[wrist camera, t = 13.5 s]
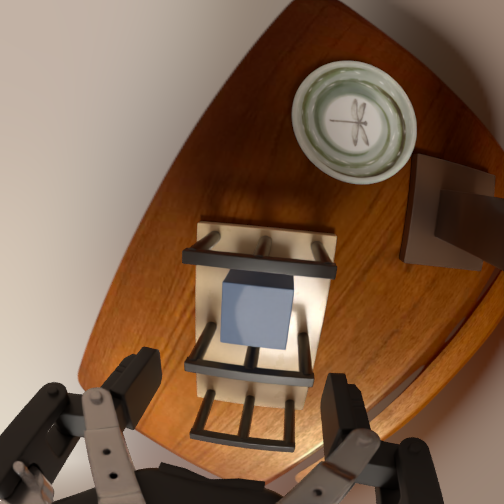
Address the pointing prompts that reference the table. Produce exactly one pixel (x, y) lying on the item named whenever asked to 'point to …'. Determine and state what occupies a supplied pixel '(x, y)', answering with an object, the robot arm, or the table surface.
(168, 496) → the robot arm
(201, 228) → the rack
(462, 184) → the stand
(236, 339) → the block
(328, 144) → the saucer
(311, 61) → the table surface
